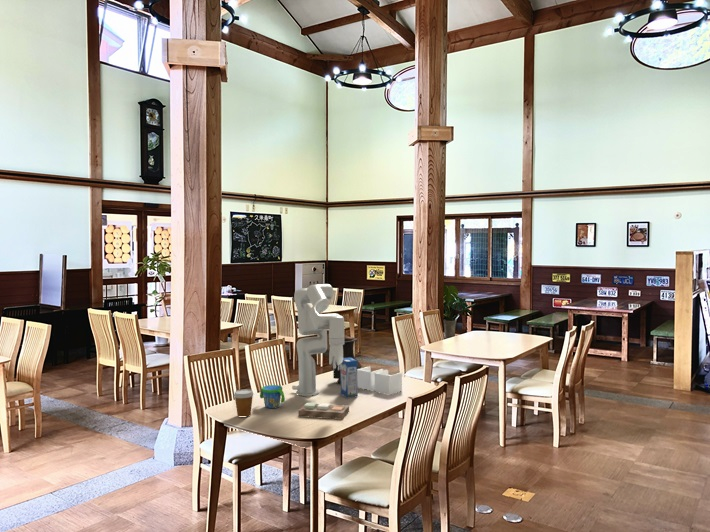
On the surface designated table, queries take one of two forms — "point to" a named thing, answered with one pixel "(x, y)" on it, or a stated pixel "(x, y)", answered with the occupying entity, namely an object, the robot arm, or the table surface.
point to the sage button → (310, 405)
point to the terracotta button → (337, 408)
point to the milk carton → (349, 377)
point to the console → (324, 412)
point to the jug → (348, 351)
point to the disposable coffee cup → (243, 402)
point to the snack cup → (272, 395)
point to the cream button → (323, 406)
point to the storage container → (379, 380)
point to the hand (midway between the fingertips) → (337, 378)
